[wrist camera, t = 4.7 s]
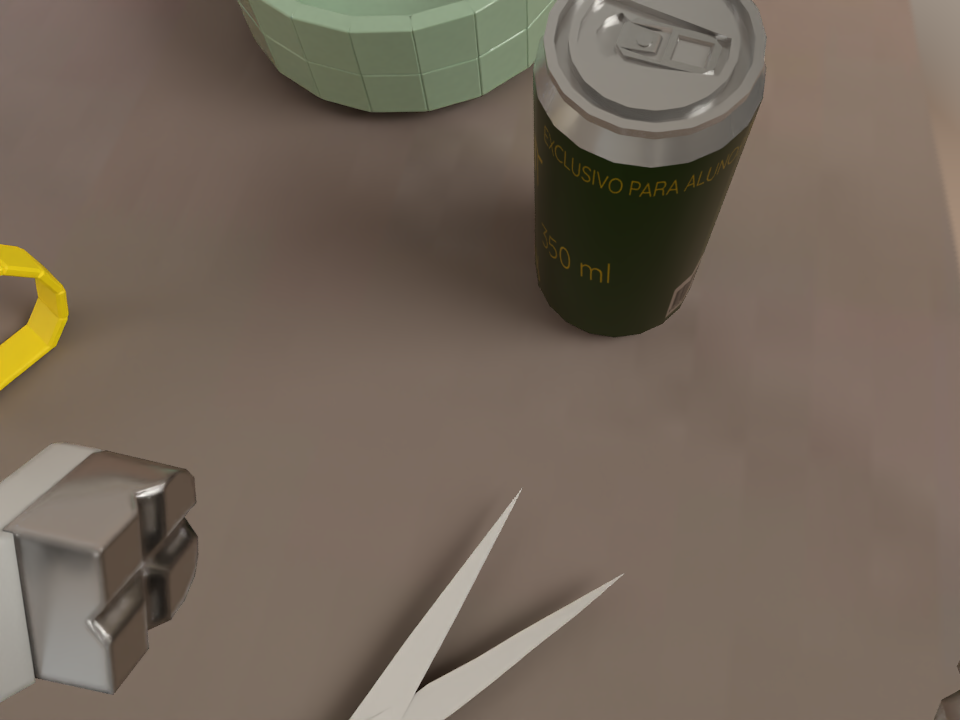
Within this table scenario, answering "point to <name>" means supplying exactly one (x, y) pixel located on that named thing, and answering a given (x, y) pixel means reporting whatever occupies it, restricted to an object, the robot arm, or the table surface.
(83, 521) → the robot arm
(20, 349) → the watch
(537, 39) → the bowl
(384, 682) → the scissors
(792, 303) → the table surface
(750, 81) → the beer can
